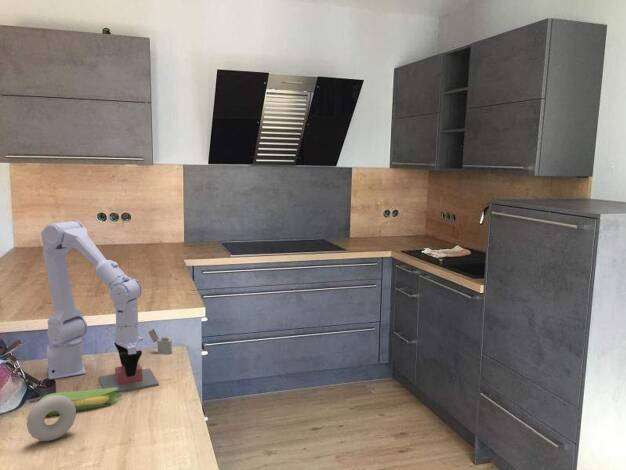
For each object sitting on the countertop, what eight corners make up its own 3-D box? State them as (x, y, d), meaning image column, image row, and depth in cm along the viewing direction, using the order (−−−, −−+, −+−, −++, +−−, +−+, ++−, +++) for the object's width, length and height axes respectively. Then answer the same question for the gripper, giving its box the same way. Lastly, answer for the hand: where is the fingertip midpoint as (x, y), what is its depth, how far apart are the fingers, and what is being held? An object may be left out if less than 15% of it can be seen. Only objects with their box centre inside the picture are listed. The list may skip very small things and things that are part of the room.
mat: (104, 395, 135) (104, 393, 135) (99, 378, 145) (99, 376, 145) (158, 385, 142) (158, 383, 142) (149, 370, 152) (149, 368, 152)
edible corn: (36, 394, 126) (34, 396, 122) (122, 384, 134) (124, 385, 130) (36, 416, 125) (34, 419, 121) (123, 404, 133) (124, 407, 129)
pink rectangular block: (142, 380, 143) (142, 368, 143) (118, 385, 140) (117, 372, 140) (139, 375, 147) (138, 363, 147) (115, 379, 144) (115, 367, 143)
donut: (73, 428, 118) (71, 387, 117) (79, 434, 115) (77, 392, 114) (25, 444, 111) (23, 400, 110) (30, 450, 108) (28, 405, 107)
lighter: (171, 352, 167) (171, 328, 166) (170, 354, 165) (169, 330, 164) (150, 351, 167) (149, 328, 166) (148, 353, 166) (148, 329, 165)
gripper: (147, 329, 137) (148, 377, 139) (137, 315, 150) (138, 359, 151) (119, 332, 134) (121, 382, 135) (111, 318, 146) (112, 363, 148)
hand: (128, 370), depth 143 cm, fingers open, 7 cm apart
